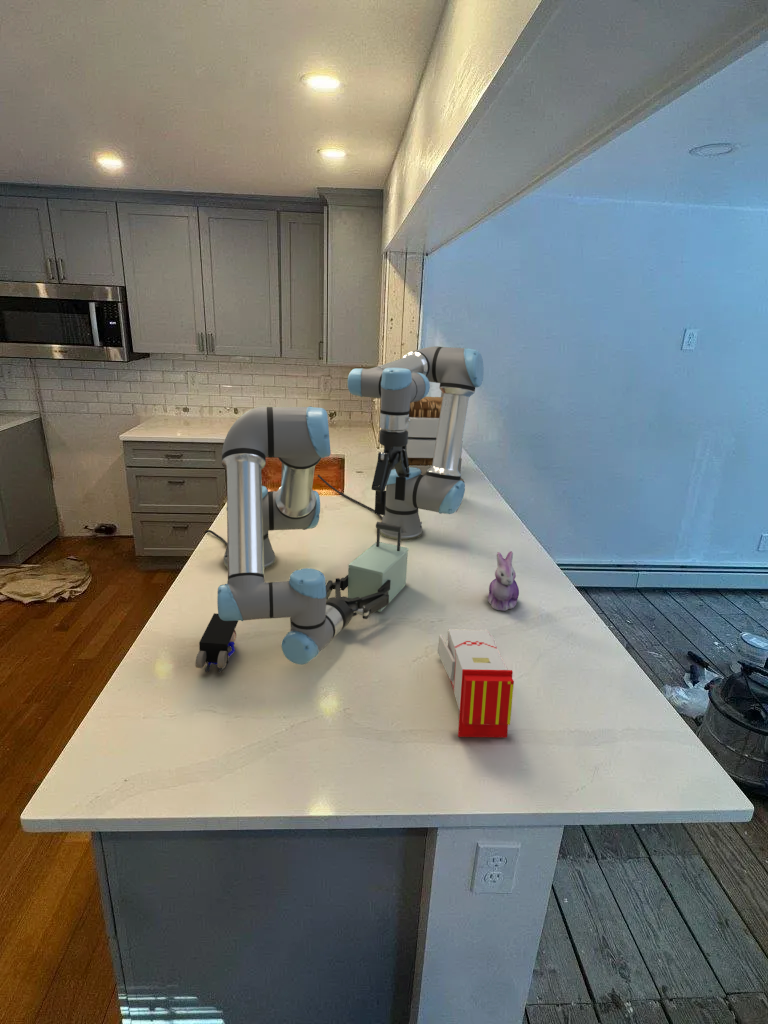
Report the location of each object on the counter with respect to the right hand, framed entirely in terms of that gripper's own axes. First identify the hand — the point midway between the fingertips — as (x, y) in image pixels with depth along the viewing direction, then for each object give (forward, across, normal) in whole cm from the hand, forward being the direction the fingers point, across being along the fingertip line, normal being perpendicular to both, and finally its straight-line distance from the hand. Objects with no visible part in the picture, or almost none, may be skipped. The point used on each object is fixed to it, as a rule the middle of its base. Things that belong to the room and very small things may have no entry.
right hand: (390, 506), depth 154 cm
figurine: (+24, +5, -32) cm, 41 cm away
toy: (+24, -36, -35) cm, 55 cm away
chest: (+24, -6, 0) cm, 25 cm away
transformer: (+24, +116, +33) cm, 123 cm away
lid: (+13, -6, 0) cm, 14 cm away
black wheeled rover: (+24, -50, +18) cm, 59 cm away
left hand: (+17, -11, 0) cm, 21 cm away
